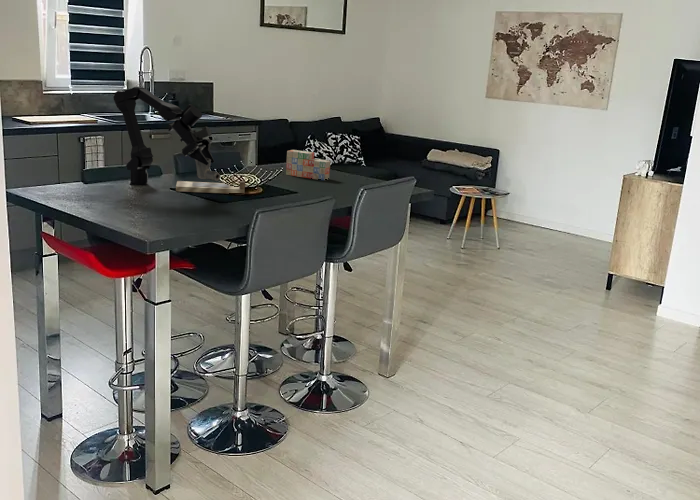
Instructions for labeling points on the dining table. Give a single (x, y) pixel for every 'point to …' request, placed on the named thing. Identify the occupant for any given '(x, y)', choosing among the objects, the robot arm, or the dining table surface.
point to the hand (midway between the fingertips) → (210, 163)
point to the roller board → (209, 187)
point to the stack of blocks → (306, 165)
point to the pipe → (206, 171)
